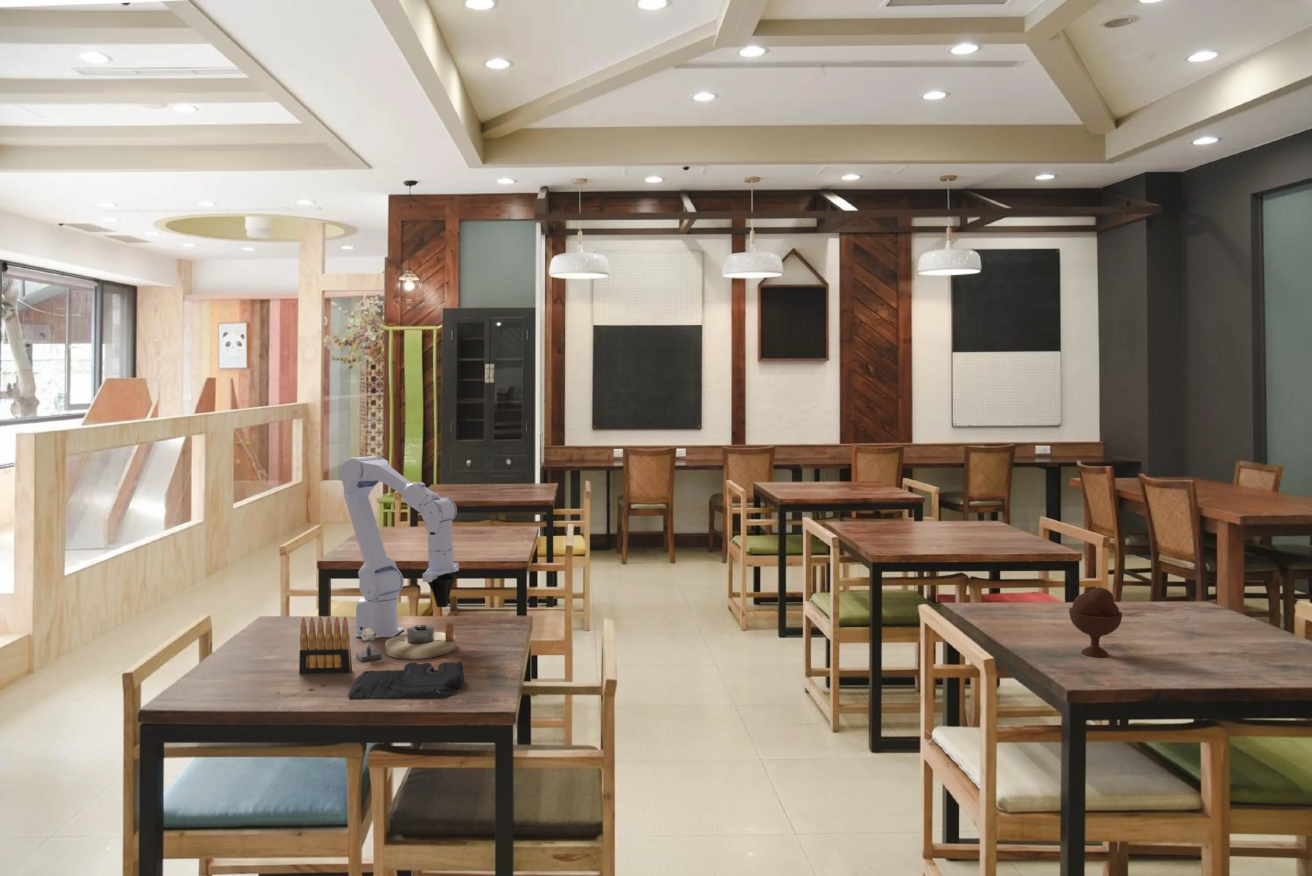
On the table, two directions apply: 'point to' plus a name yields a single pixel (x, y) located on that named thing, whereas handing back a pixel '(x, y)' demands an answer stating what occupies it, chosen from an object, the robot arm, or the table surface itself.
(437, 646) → the turntable
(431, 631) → the iron cover
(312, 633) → the ammunition clip
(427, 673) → the black folded garment
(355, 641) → the table surface
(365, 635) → the grey and clear piece
